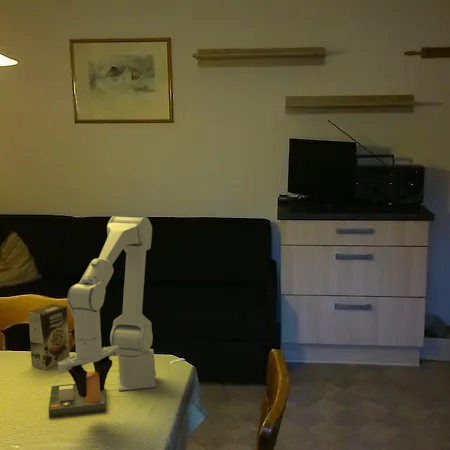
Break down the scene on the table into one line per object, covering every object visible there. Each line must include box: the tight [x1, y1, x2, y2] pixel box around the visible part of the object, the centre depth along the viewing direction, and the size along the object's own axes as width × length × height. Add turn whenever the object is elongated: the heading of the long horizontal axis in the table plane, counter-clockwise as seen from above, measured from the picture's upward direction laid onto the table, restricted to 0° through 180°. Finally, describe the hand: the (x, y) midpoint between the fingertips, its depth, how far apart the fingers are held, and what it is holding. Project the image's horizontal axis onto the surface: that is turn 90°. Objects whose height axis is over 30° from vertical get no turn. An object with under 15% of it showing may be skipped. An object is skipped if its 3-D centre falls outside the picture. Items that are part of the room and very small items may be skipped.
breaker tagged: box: [58, 385, 74, 401], centre depth 147 cm, size 3×2×3 cm, turn 102°
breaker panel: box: [47, 383, 107, 419], centre depth 150 cm, size 13×13×2 cm
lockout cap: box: [83, 370, 101, 404], centre depth 139 cm, size 4×4×6 cm
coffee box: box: [28, 303, 71, 371], centre depth 173 cm, size 9×6×16 cm
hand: (91, 392), depth 140 cm, fingers closed on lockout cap, 4 cm apart
